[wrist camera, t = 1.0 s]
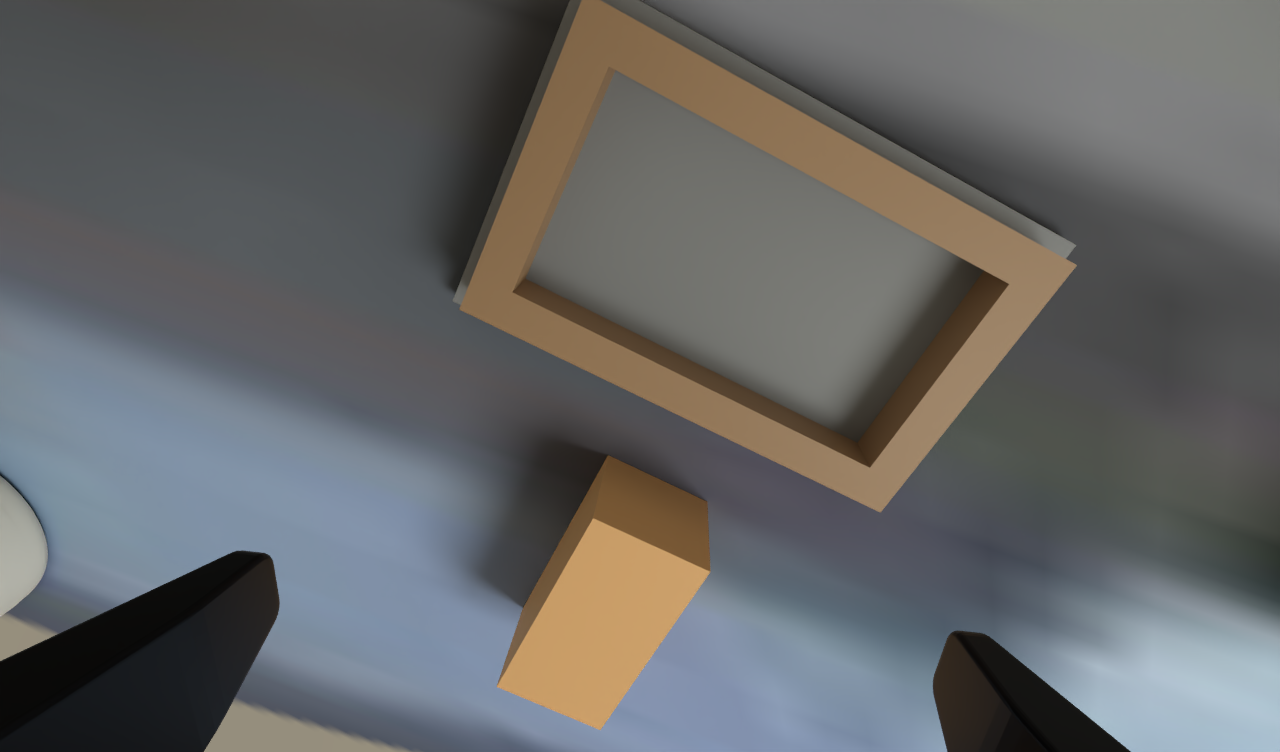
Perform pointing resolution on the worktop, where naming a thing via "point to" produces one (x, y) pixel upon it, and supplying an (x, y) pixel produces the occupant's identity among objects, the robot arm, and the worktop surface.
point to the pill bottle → (19, 548)
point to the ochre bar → (608, 594)
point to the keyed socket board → (750, 254)
